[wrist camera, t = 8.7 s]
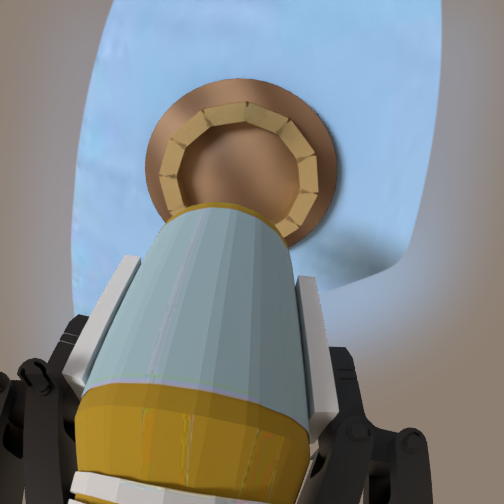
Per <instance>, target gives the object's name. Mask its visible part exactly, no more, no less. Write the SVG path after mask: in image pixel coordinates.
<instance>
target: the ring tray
mask: <svg viewBox="0 0 504 504" xmlns="http://www.w3.org/2000/svg"><path fill="white" fill-rule="evenodd" d="M145 174H146V182H147V187H148V191H149V194H150V197H151V199H152V202H153V204H154V206H155V208H156V210H157V212H158V213H159V215H160V216H161V217H162V219H163V220H164V222H165V223H166V222H167V221H168V220H169V219H170V218H171V217H172V216H174V215H176V214H177V213H179V212H180V211H182V210H184V209H185V208H188V207H190V206H194V205H198V204H203V203H207V202H222V203H233V204H238V205H241V206H243V207H246V208H248V209H251V210H253V211H256V212H258V213H259V214H261V215H262V216H264V217H265V218H266V219H267V220H269V221H270V222H271V223H272V224H274V225H275V226H276V228H277V229H278V230H279V232H280V233H281V235H282V236H283V238H284V240H285V241H286V243H287V245H288V247H290V246H292V245H294V244H296V243H297V242H298V241H300V240H301V239H303V238H304V237H305V236H306V235H307V234H309V233H310V232H311V231H312V230H313V229H314V228H315V227H316V225H317V224H318V223H319V222H320V221H321V219H322V218H323V216H324V214H325V213H326V211H327V209H328V207H329V205H330V203H331V201H332V198H333V194H334V191H335V186H336V181H337V161H336V154H335V150H334V146H333V142H332V140H331V138H330V135H329V133H328V131H327V129H326V127H325V126H324V124H323V122H322V121H321V119H320V118H319V117H318V116H317V114H316V113H315V112H314V111H313V110H312V109H311V108H310V107H309V106H308V105H307V104H306V103H305V102H304V101H303V100H301V99H300V98H298V97H297V96H295V95H294V94H293V93H291V92H289V91H287V90H285V89H283V88H281V87H279V86H277V85H274V84H271V83H268V82H265V81H260V80H254V79H238V78H237V79H227V80H221V81H217V82H213V83H209V84H206V85H204V86H201V87H199V88H196V89H195V90H193V91H191V92H189V93H188V94H186V95H184V96H183V97H182V98H180V99H179V100H178V101H176V102H175V103H174V104H173V105H172V106H171V107H170V108H169V109H168V110H167V111H166V112H165V114H164V115H163V116H162V118H161V119H160V120H159V122H158V123H157V125H156V127H155V129H154V131H153V133H152V135H151V138H150V141H149V144H148V148H147V153H146V161H145Z"/></svg>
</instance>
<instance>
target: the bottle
mask: <svg viewBox="0 0 504 504" xmlns="http://www.w3.org/2000/svg"><path fill="white" fill-rule="evenodd" d="M75 438H76V453H77V465H78V472H77V471H76V472H75V474H74V478H73V482H72V485H71V489H70V492H71V493H73V494H74V495H75V499H74V500H72V499H69V502H68V504H295V502H296V499H297V497H298V494H299V491H300V489H301V486H302V482H303V480H304V477H305V474H306V471H307V468H308V465H309V462H310V447H309V445H310V430H309V418H308V406H307V395H306V384H305V373H304V363H303V353H302V344H301V335H300V326H299V317H298V308H297V300H296V292H295V284H294V276H293V268H292V263H291V258H290V253H289V249H288V245H287V243H286V241H285V240H284V238H283V236H282V235H281V233H280V232H279V230H278V229H277V228H276V226H275V225H274V224H272V223H271V222H270V221H269V220H267V219H266V218H265V217H264V216H262V215H261V214H259V213H258V212H256V211H253V210H251V209H248V208H246V207H243V206H241V205H238V204H233V203H222V202H207V203H203V204H198V205H194V206H190V207H188V208H185V209H184V210H182V211H180V212H179V213H177V214H176V215H174V216H172V217H171V218H170V219H169V220H168V221H167V222H166V224H165V225H164V226H163V228H162V229H161V230H160V232H159V233H158V235H157V236H156V238H155V239H154V241H153V243H152V245H151V247H150V249H149V251H148V252H147V254H146V256H145V258H144V260H143V262H142V264H141V266H140V268H139V270H138V272H137V273H136V275H135V277H134V279H133V281H132V283H131V285H130V287H129V289H128V291H127V293H126V296H125V298H124V300H123V302H122V304H121V306H120V308H119V310H118V312H117V314H116V316H115V319H114V321H113V323H112V325H111V327H110V329H109V332H108V334H107V336H106V338H105V341H104V343H103V345H102V347H101V350H100V352H99V354H98V357H97V359H96V362H95V364H94V366H93V369H92V371H91V374H90V376H89V379H88V381H87V384H86V386H85V389H84V391H83V394H82V396H81V399H80V405H79V407H78V410H77V413H76V416H75Z"/></svg>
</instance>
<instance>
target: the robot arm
mask: <svg viewBox="0 0 504 504" xmlns="http://www.w3.org/2000/svg"><path fill="white" fill-rule="evenodd" d="M140 266H141V258H140V257H138V256H130V255H125V256H124V257H123V259H122V261H121V262H120V264H119V266H118V267H117V269H116V271H115V272H114V274H113V276H112V278H111V279H110V281H109V283H108V284H107V286H106V288H105V290H104V291H103V293H102V295H101V297H100V299H99V300H98V302H97V304H96V306H95V308H94V310H93V311H92V313H91V315H90V317H89V316H84V315H80V314H78V315H77V316H76V317H75V318H73V319H72V320H71V321H70V322H69V324H68V326H67V327H66V329H65V331H64V334H62V336H61V338H60V342H58V344H57V346H56V348H55V349H54V351H53V353H52V355H51V357H50V359H49V361H48V363H46V362H45V361H43V360H42V359H38V358H33V359H28V360H27V361H25V362H24V363H23V364H22V365H21V366H20V367H19V369H18V373H17V375H18V376H19V377H20V379H21V380H10V379H9V378H8V377H7V375H6V374H4V373H3V372H0V504H22V499H23V492H24V487H25V498H26V504H68V502H69V499H72V500H74V499H75V495H74V494H73V493H71V492H70V489H71V485H72V482H73V478H74V474H75V472H76V471H77V472H78V465H77V453H76V438H75V416H76V413H77V410H78V407H79V405H80V399H81V396H82V394H83V391H84V389H85V386H86V384H87V381H88V379H89V376H90V374H91V371H92V369H93V366H94V364H95V362H96V359H97V357H98V354H99V352H100V350H101V347H102V345H103V343H104V341H105V338H106V336H107V334H108V332H109V329H110V327H111V325H112V323H113V321H114V319H115V316H116V314H117V312H118V310H119V308H120V306H121V304H122V302H123V300H124V298H125V296H126V293H127V291H128V289H129V287H130V285H131V283H132V281H133V279H134V277H135V275H136V273H137V272H138V270H139V268H140ZM295 292H296V300H297V308H298V317H299V326H300V335H301V344H302V353H303V363H304V373H305V384H306V395H307V406H308V418H309V430H310V444H313V443H315V441H316V440H317V439H318V442H319V448H318V449H317V450H316V452H315V453H314V454H313V455H312V456H311V458H310V459H311V460H313V462H312V465H311V468H310V470H309V473H308V476H307V479H306V482H305V484H304V487H303V489H302V492H301V495H300V497H299V499H298V502H297V504H359V502H360V498H361V495H362V491H363V488H364V492H363V495H364V496H363V504H433V497H432V496H433V495H432V482H431V472H430V463H429V454H428V447H427V441H426V438H425V436H424V435H423V434H422V432H420V431H419V430H417V429H416V428H406V429H403V430H402V431H400V432H399V433H396V432H392V431H388V430H383V429H380V428H377V427H375V426H374V425H373V424H372V423H371V422H370V421H369V420H368V419H367V418H366V416H365V413H364V409H363V404H362V399H361V394H360V389H359V384H358V381H357V376H356V372H355V366H354V362H353V358H352V356H351V355H350V353H349V352H348V350H347V349H346V348H345V347H328V341H327V336H326V330H325V325H324V320H323V315H322V310H321V305H320V300H319V295H318V290H317V285H316V280H315V277H308V276H298V278H297V282H296V286H295Z"/></svg>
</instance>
